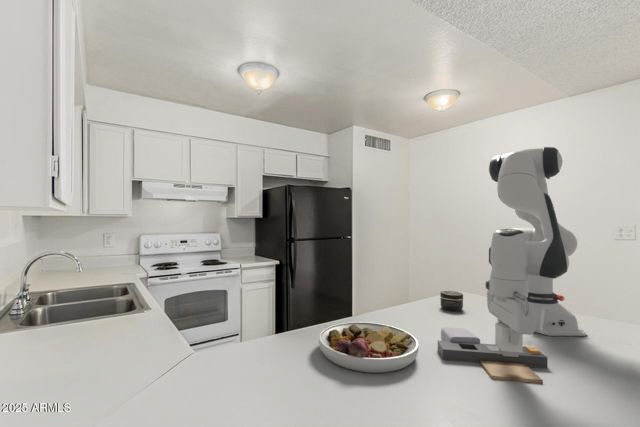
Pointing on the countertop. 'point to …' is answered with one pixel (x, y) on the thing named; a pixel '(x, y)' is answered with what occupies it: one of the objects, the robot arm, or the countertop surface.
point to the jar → (451, 301)
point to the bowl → (368, 346)
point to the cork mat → (510, 371)
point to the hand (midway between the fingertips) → (508, 339)
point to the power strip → (489, 354)
